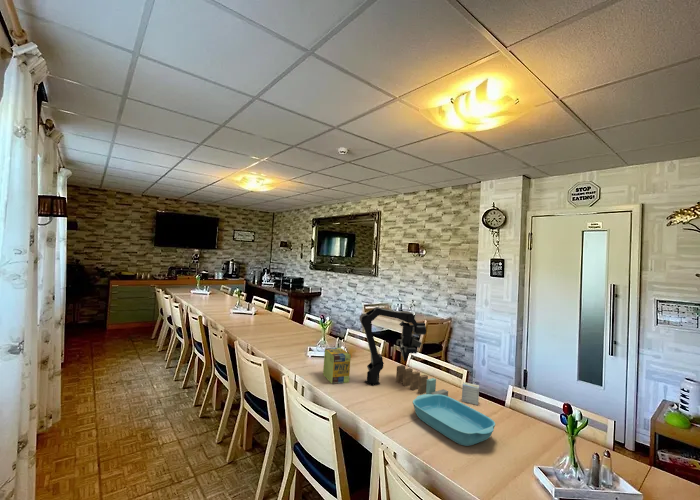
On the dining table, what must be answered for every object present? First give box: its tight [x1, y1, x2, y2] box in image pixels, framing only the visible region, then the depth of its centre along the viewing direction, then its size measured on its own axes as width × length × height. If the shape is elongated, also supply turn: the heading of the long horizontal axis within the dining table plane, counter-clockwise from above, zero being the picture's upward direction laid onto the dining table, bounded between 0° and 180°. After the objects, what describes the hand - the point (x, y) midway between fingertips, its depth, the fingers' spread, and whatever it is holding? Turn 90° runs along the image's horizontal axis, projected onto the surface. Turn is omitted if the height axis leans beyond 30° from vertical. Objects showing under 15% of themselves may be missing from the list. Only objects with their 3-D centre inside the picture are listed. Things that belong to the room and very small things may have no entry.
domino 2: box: [402, 367, 414, 388], centre depth 179 cm, size 2×5×9 cm, turn 126°
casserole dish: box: [412, 393, 496, 447], centre depth 136 cm, size 37×22×7 cm, turn 31°
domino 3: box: [409, 370, 421, 391], centre depth 174 cm, size 2×5×9 cm, turn 126°
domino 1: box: [395, 364, 406, 384], centre depth 183 cm, size 2×5×9 cm, turn 126°
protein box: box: [322, 347, 352, 385], centre depth 182 cm, size 10×15×16 cm
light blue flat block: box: [425, 377, 437, 394], centre depth 165 cm, size 2×5×9 cm, turn 126°
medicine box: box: [461, 381, 480, 406], centre depth 162 cm, size 8×4×9 cm, turn 65°
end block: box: [431, 388, 449, 397], centre depth 161 cm, size 10×3×4 cm, turn 126°
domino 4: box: [417, 374, 429, 395], centre depth 170 cm, size 2×5×9 cm, turn 126°
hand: (405, 361), depth 181 cm, fingers closed
